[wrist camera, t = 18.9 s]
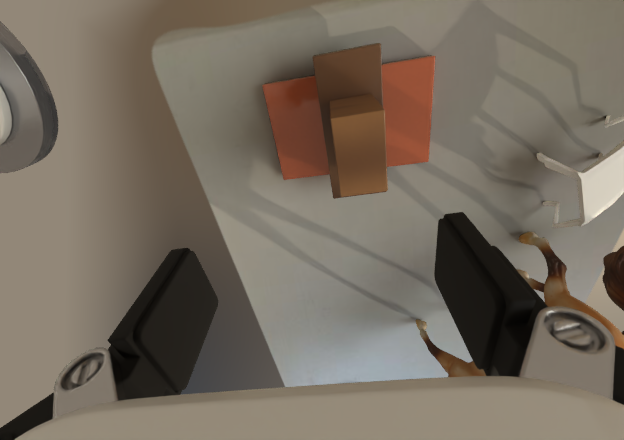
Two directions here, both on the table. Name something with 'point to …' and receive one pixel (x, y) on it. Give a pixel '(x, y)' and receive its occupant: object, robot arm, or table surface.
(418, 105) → the tile
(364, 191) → the brown stepped block
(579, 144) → the table surface
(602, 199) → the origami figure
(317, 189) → the table surface
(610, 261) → the horse figurine
